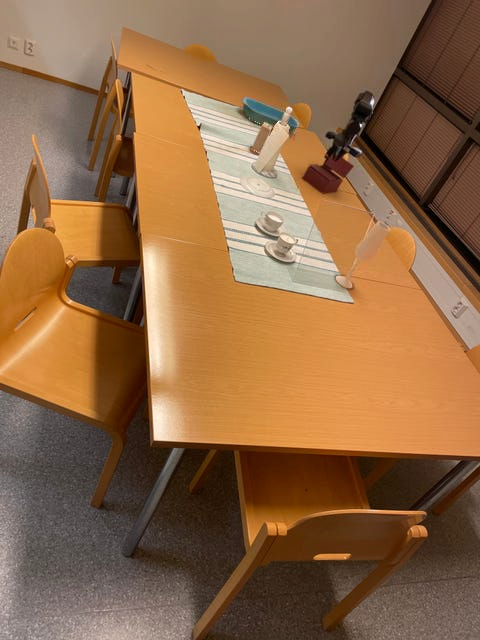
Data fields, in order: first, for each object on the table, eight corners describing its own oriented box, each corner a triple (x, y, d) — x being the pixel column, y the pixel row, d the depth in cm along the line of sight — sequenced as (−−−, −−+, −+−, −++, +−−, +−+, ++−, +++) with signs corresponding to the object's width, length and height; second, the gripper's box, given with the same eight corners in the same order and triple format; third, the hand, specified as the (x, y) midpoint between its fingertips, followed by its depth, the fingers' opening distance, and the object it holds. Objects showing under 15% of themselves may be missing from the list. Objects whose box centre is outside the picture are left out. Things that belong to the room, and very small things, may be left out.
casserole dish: (242, 120, 260) (247, 107, 256) (234, 104, 275) (239, 92, 271) (298, 141, 275) (304, 129, 271) (288, 125, 291) (293, 114, 287)
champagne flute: (349, 290, 163) (389, 234, 149) (333, 279, 165) (372, 222, 151) (354, 284, 169) (394, 229, 155) (339, 273, 170) (377, 217, 156)
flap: (324, 163, 237) (324, 164, 237) (343, 178, 233) (344, 178, 233) (334, 151, 236) (334, 152, 236) (353, 165, 231) (354, 166, 232)
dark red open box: (317, 176, 241) (324, 163, 237) (336, 191, 237) (344, 178, 233) (302, 177, 230) (309, 164, 226) (322, 193, 226) (329, 179, 222)
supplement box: (259, 155, 228) (271, 129, 220) (250, 150, 228) (261, 125, 220) (261, 150, 235) (273, 125, 227) (252, 146, 234) (264, 121, 227)
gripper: (328, 118, 215) (311, 150, 224) (359, 140, 209) (341, 172, 218) (339, 120, 223) (322, 150, 232) (370, 141, 217) (351, 171, 226)
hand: (334, 160), depth 227 cm, fingers closed
